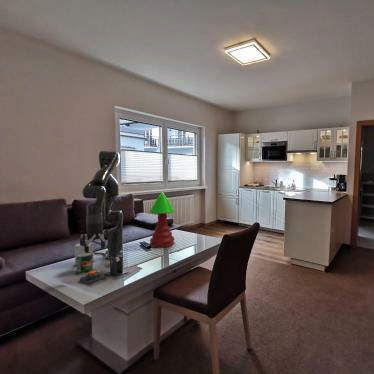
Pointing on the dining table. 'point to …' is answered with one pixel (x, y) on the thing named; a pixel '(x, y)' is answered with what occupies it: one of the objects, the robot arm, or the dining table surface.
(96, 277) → the power block
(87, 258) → the canned tomato
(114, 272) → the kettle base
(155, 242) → the table lamp
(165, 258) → the dining table surface
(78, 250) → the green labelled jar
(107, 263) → the switch
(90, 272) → the power button
